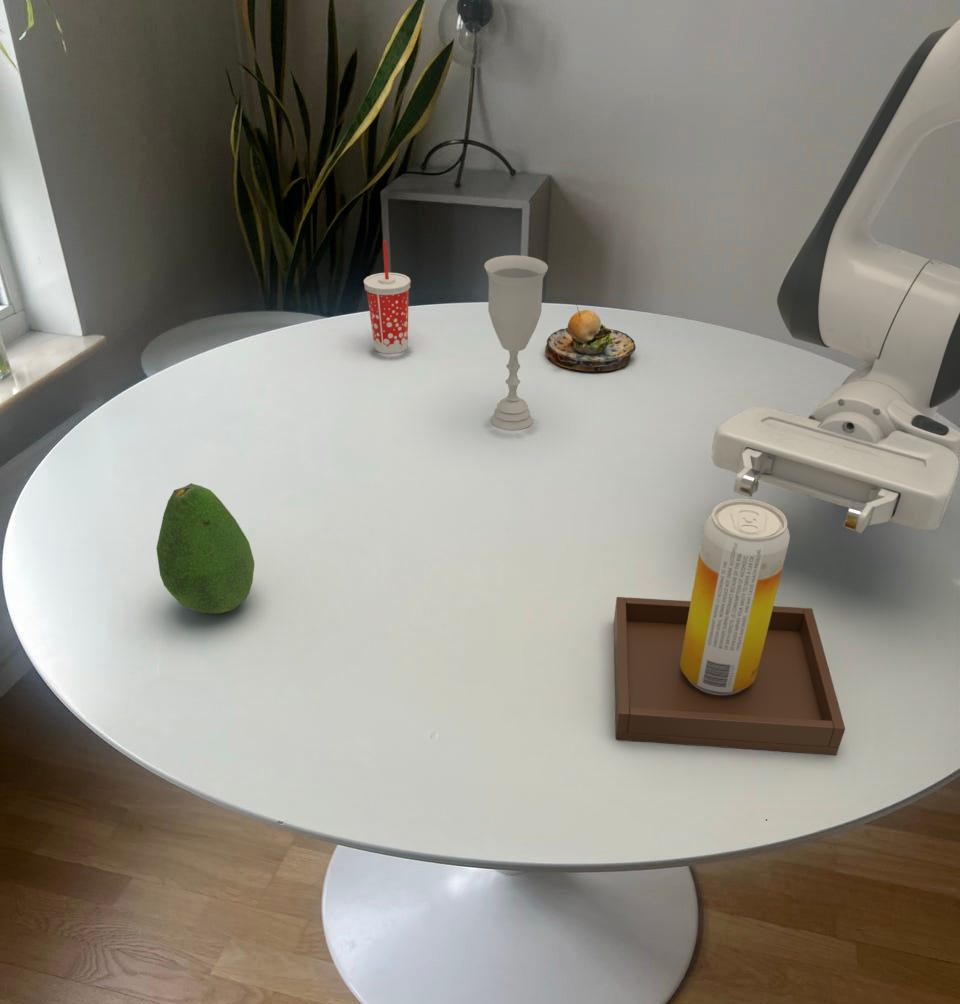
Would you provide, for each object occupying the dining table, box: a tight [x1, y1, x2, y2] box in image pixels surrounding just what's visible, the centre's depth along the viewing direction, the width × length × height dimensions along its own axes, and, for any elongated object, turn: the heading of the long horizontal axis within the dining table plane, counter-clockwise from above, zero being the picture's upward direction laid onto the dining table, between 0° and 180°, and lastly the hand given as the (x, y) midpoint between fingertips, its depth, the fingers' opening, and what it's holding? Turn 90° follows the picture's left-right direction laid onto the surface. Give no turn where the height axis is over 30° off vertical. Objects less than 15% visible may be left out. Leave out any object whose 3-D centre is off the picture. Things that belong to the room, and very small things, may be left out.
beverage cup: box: [363, 239, 412, 355], centre depth 127 cm, size 6×6×14 cm
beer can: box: [680, 498, 791, 695], centre depth 74 cm, size 6×6×15 cm
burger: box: [545, 303, 637, 372], centre depth 127 cm, size 12×12×8 cm
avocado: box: [156, 482, 255, 615], centre depth 83 cm, size 8×8×12 cm
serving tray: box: [613, 596, 846, 756], centre depth 78 cm, size 17×15×3 cm
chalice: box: [483, 254, 549, 431], centre depth 109 cm, size 7×7×18 cm
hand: (796, 504), depth 79 cm, fingers open, 8 cm apart
